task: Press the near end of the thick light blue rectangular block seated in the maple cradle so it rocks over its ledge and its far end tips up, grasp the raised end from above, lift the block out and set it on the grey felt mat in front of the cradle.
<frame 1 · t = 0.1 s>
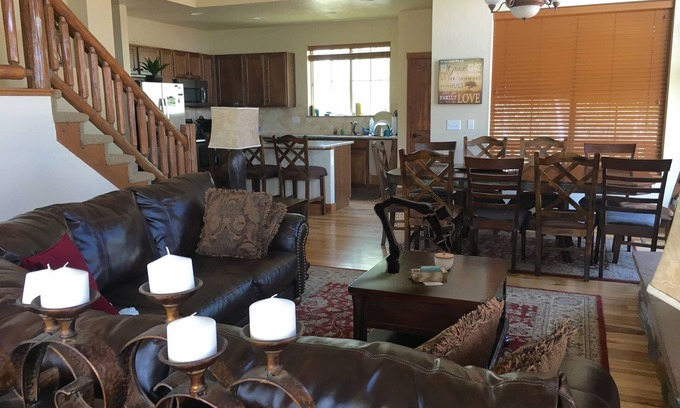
hand: (450, 250, 295), 15 cm above the table, tool tilted 30°, fingers open, 9 cm apart
mat: (433, 283, 287), on the table
light blue rectangular block: (430, 274, 295), point 2 cm above the table, touching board
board: (430, 279, 295), on the table
lidded jar: (443, 268, 316), on the table
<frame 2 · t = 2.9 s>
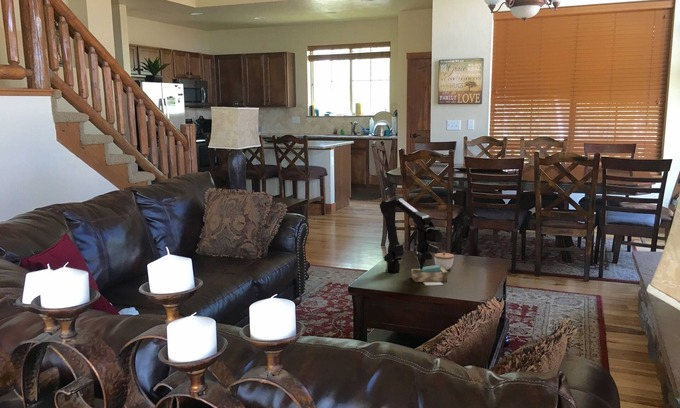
hand: (421, 268, 294), 6 cm above the table, tool pointing down, fingers closed, pressing on light blue rectangular block
light blue rectangular block: (430, 274, 295), point 2 cm above the table, tilted 8°, touching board, gripper
everything else where it was.
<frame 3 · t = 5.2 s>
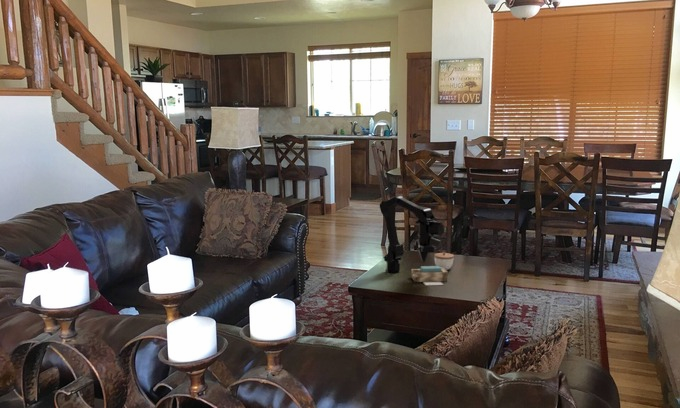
hand: (423, 262, 293), 9 cm above the table, tool pointing down, fingers closed
light blue rectangular block: (430, 274, 295), point 2 cm above the table, touching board
everything else where it was.
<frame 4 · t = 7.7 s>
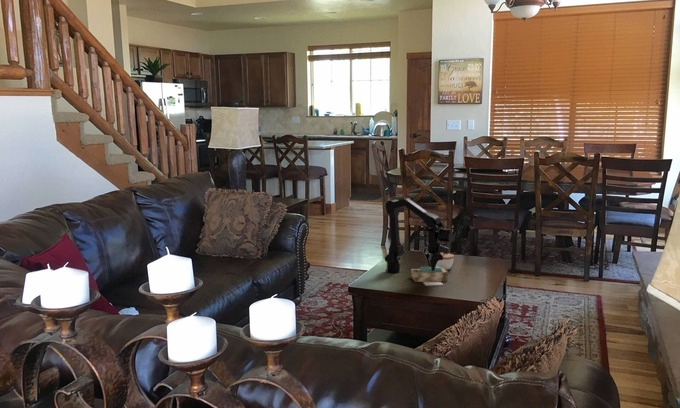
hand: (431, 269, 295), 5 cm above the table, tool pointing down, fingers closed on light blue rectangular block, 4 cm apart
light blue rectangular block: (430, 274, 295), point 2 cm above the table, touching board, gripper
everything else where it was.
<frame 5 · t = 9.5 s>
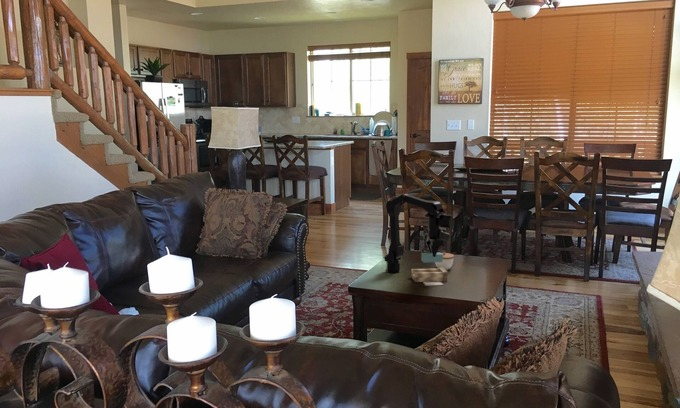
hand: (433, 255, 291), 13 cm above the table, tool pointing down, fingers closed on light blue rectangular block, 4 cm apart
light blue rectangular block: (431, 261, 292), point 10 cm above the table, touching gripper
everything else where it was.
when the fingers open (7 cm above the table, at t = 11.4 s): light blue rectangular block drops 4 cm, resting on mat.
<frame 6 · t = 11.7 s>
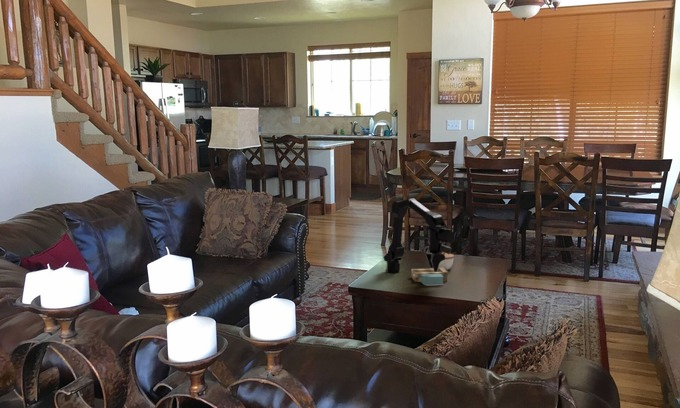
hand: (433, 269, 286), 7 cm above the table, tool pointing down, fingers open, 7 cm apart
light blue rectangular block: (432, 283, 287), resting on mat
everything else where it was.
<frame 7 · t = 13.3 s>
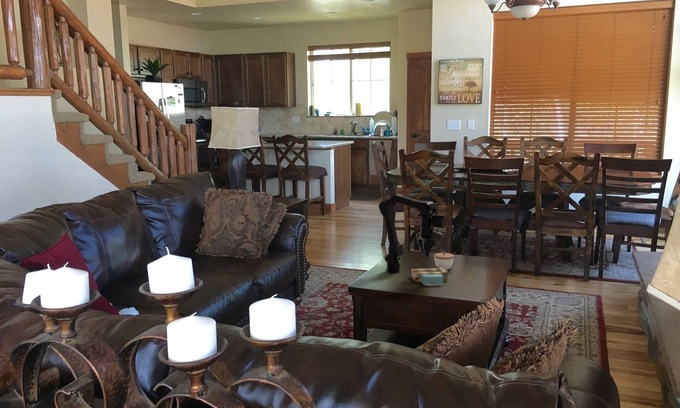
hand: (424, 254, 296), 13 cm above the table, tool pointing down, fingers open, 9 cm apart
nothing on the table moved.
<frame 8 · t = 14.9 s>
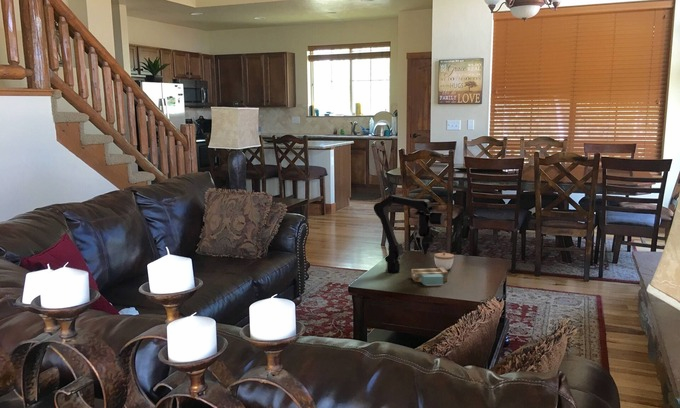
hand: (422, 252, 299), 13 cm above the table, tool pointing down, fingers open, 9 cm apart
nothing on the table moved.
at the end: light blue rectangular block inside the target area on the mat (0.5 cm from its centre), point 0.4 cm above the mat's base; the gripper is holding nothing; light blue rectangular block moved 8.8 cm from its start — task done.
